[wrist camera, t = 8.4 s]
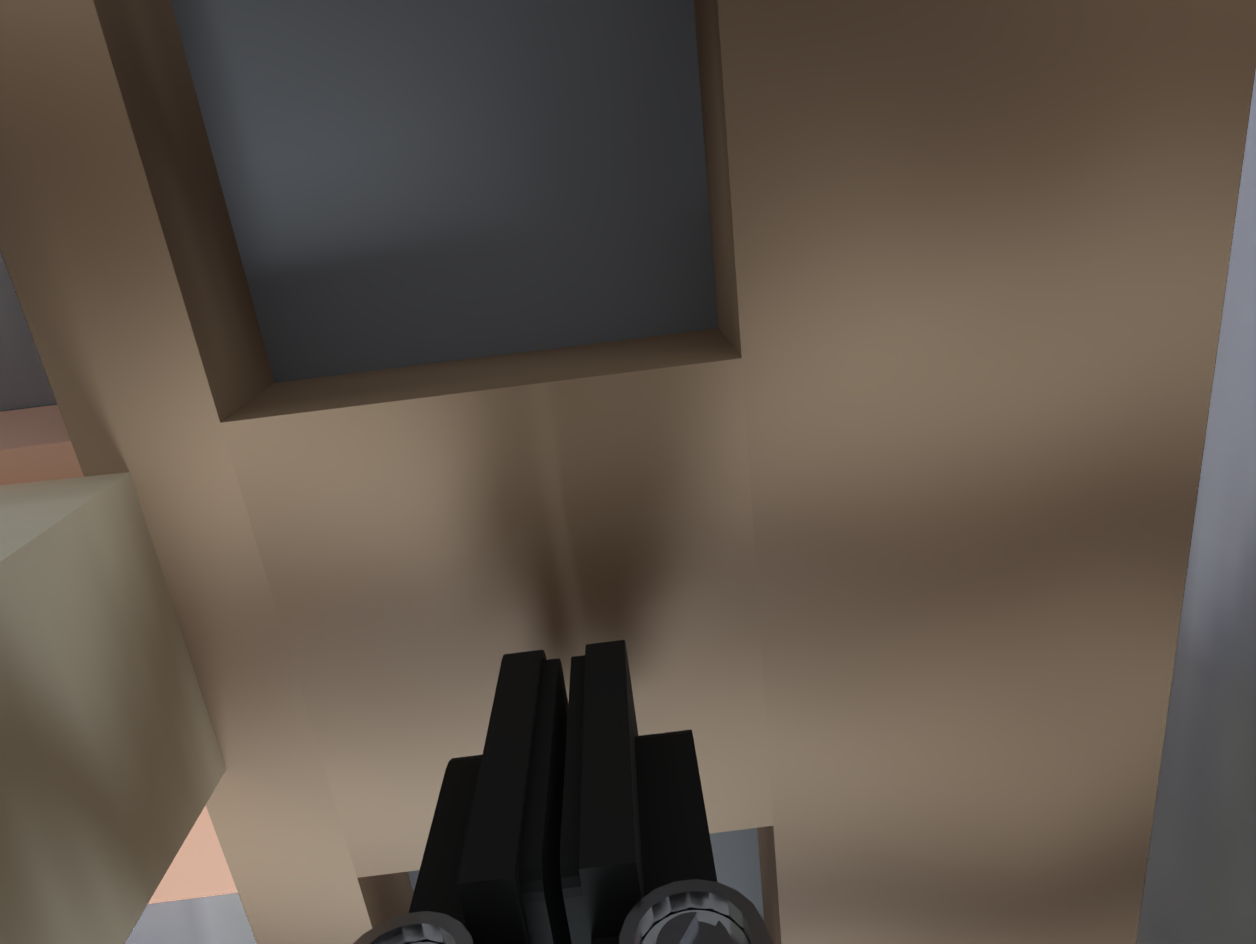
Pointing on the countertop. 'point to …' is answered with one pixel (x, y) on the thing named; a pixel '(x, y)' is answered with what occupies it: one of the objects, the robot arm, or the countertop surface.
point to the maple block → (91, 715)
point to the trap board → (651, 413)
